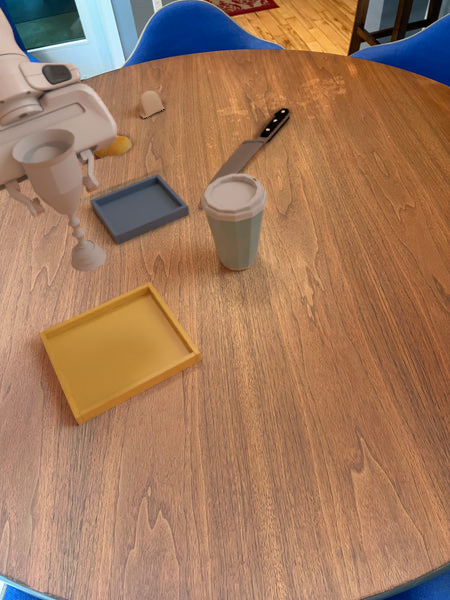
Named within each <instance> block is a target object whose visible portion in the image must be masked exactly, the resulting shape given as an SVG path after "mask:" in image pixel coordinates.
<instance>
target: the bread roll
mask: <svg viewBox="0 0 450 600" xmlns="http://www.w3.org/2000/svg"><path fill="white" fill-rule="evenodd" d="M131 148H133V145H132V141H131V140H130V138H128V137H127V136H124V135H119V134H117V136H116V139H115V141H114V143H113V144H112V145H110V146H107V147H105V148H102V149H100V150H98V151H95V152H93V153H94V155H96V157H98V158H100V159H104V158H107V157H115V156H119V155H122V154H124V153H127V151H129V150H130V149H131Z"/></svg>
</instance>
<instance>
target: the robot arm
mask: <svg viewBox="0 0 450 600" xmlns="http://www.w3.org/2000/svg"><path fill="white" fill-rule="evenodd" d="M13 31H14V30H13V28H12V26H11V25H10V22H9V20H8V19H7V17H6V15H5V13H4V12H3V10H2V7H0V192H2V191H4V190H6V191H7V193H8V195H9V197H10V198H12V199H13V200H15V201H17V202H19V203H20V204H21V205H23V206H26V207H27V209H28V211H29V213H30V214H31V216H32V217H33V218H37V217H39V216H41V215H43V214H45V213H46V210H45V208H44V206H43V204H41V201H40V198H39V196H37V197H34V198H32V199H31V198H30V197H28V196H27V195H26V194H23V193H22V191H21V190H22V189H21V186H20V184H21V183H23V182H27V181H29V178H28V176H27V174H26V172H25V169H24V167H23V165H22V164H21V163H20V162H18V161H17V160H16V159H14V157H13V154H12V152H13V148H14V147H15V146H16V145H17V143H18V142H20V141H21V140H22V139H24V138H25V137H27V136H29V135H31V134H33V133H36V132H39V131H43V130H48V129H64V130H68V131H70V132H71V133H73V135H74V137H75V140H74V150H75V153H76V156H77V159H78V162H79V164H81V166H86V175H85V176H83V181H82V186H83V187H85V191H86V192H87V194H89V193H92V192H94V191H97V190H98V189H99V188H100V184H99V182H98V180H97V178H96V176H95V174H94V173H95V157H94V154H93V153H94V152H95V151H98V150H100V149H102V148H105V147H107V146H110V145H112V144H113V143H114V141H115V139H116V136H117V135H118V131H119V129H118V125H117V122H116V120H115V119H114V117H113V115H112V113H111V112H110V110H109V109H108V107H107V105H106V104H105V103H104V101H103V100H102V98H101V97H100V95H99V94H98V93H97V92H96V91H95V90H94V89H93V88H92V87H91V86H90V85H88V84H86V83H82V79H81V73H80V70H79V69H78V67H77V66H76V64H74V63H71V62H33V61H32V62H31V60H30V59H29V57H28V56H27V54H26V53H25V52H24V51H23V50H22V49H21V47H19V45H18V43H17V42H16V39H15V35H14V32H13ZM63 153H65V152H64V151H62V150H60V149H58V148H56V147H48V146H46V147H43V148H39V149H38V150H37V151H36V152H34V153H33V155H32V157H31V159H30V162H29V163H39V162H44V161H48V160H51V159H53V158H56V157H58V156H60V155H62V154H63Z"/></svg>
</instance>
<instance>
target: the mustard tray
mask: <svg viewBox="0 0 450 600" xmlns="http://www.w3.org/2000/svg"><path fill="white" fill-rule="evenodd" d="M38 335H39V339H40V340H41V342H42V345H43V347H44V349H45V351H46V353H47V357H48V358H49V361H50V363H51V366H52V368H53V370H54V372H55V376H56V377H57V380H58V382H59V385H60V386H61V389H62V391H63V394H64V396H65V398H66V402H67V403H68V406H69V407H70V410H71V412H72V415H73V417H74V419H75V421H76V423H77V424H78V425H79V426H81V425H83V424H85V423H87V422H89V421H90V420H92V419H94V418H96V417H98V416H100V415H102V414H103V413H106V412H107V411H110V410H111V409H113V408H115V407H117V406H118V405H120V404H122V403H124V402H126V401H128V400H130V399H131V398H133V397H135V396H138V395H139V394H141V393H143V392H145V391H148V390H149V389H150V388H153V387H155V386H156V385H158V384H160V383H162V382H163V381H166V380H168V379H169V378H171V377H173V376H175V375H177V374H179V373H180V372H182V371H184V370H186V369H188V368H190V367H192V366H194V365H196V364H197V363H200V362H201V361H202V354H201V352H200V350H199V349H198V348H197V346H196V344H195V343H194V342H193V340H192V339H191V337H190V336H189V335H188V333H187V332H186V330H185V329H184V328H183V326H182V325H181V323H180V322H179V320H178V319H177V317H176V316H175V314H174V313H173V312H172V310H171V309H170V307H169V306H168V304H167V303H166V302H165V300H164V299H163V298H162V296H161V295H160V293H159V292H158V290H157V289H156V287H155V286H154V285H153V283H152V282H151V281H149V282H146V283H145V284H141V285H140V286H137V287H135V288H134V289H130V290H129V291H127V292H125V293H122V294H120V295H118V296H116V297H114V298H112V299H110V300H107V301H105V302H103V303H101V304H99V305H97V306H94V307H92V308H90V309H88V310H85V311H83V312H81V313H78V314H76V315H74V316H73V317H70V318H67V319H66V320H64V321H61V322H60V323H57V324H55V325H52V326H51V327H49V328H47V329H44V330H42V331H39V332H38Z"/></svg>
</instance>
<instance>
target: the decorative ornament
mask: <svg viewBox="0 0 450 600" xmlns="http://www.w3.org/2000/svg"><path fill="white" fill-rule="evenodd" d="M162 88H163V85H162V84H159V85H158V86H157V87H156V89H155V91H154V90H146V91H144V92H143V93H141V95H139V98H138V103H137V104H138V109H139V113H138V114H139V116H140V117H141V118H143V119H144V118H146V117H147V118H149V117H150V116H152V115H154V114H156V113H158V112H161V110H162V111H164V110H163V109H164V108H165V107H164V106H163V103H162V99H161V97H160V96H159V95H160V93H161V91H162ZM147 118H146V119H147Z"/></svg>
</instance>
